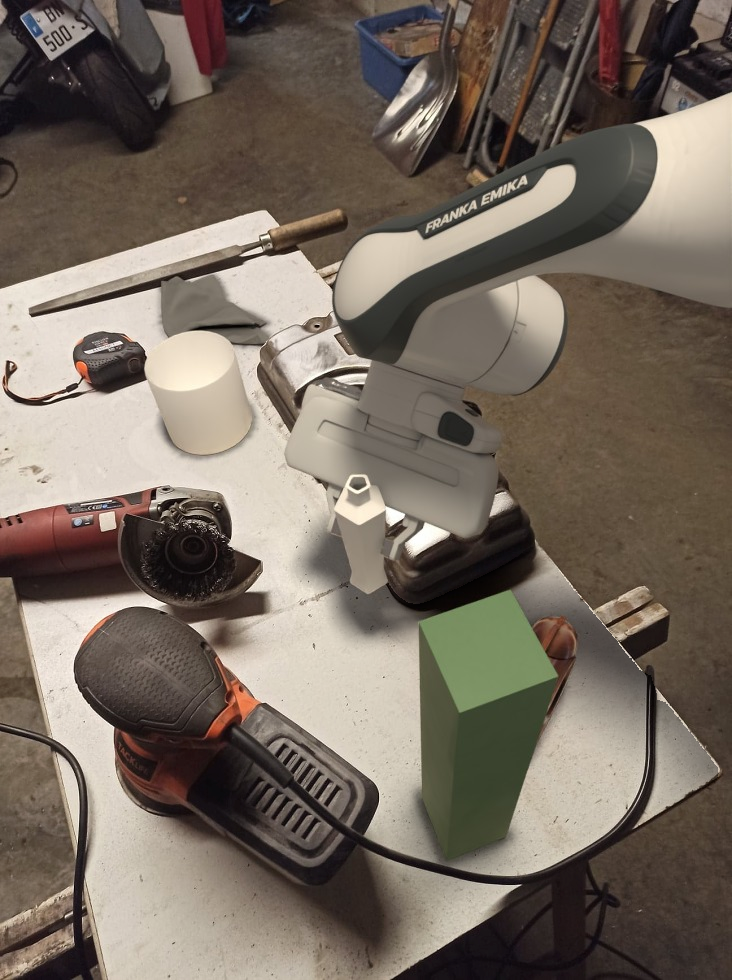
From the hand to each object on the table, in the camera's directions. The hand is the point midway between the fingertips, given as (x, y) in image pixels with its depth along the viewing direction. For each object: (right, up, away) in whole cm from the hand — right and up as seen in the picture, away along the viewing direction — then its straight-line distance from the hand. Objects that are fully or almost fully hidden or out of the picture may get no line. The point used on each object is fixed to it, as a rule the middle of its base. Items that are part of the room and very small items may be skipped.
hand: (362, 545), depth 69 cm
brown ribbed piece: (+17, -18, +6) cm, 25 cm away
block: (+9, -26, 0) cm, 27 cm away
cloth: (-26, +33, +50) cm, 65 cm away
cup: (-22, +14, +35) cm, 43 cm away
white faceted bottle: (+1, -4, +5) cm, 7 cm away
